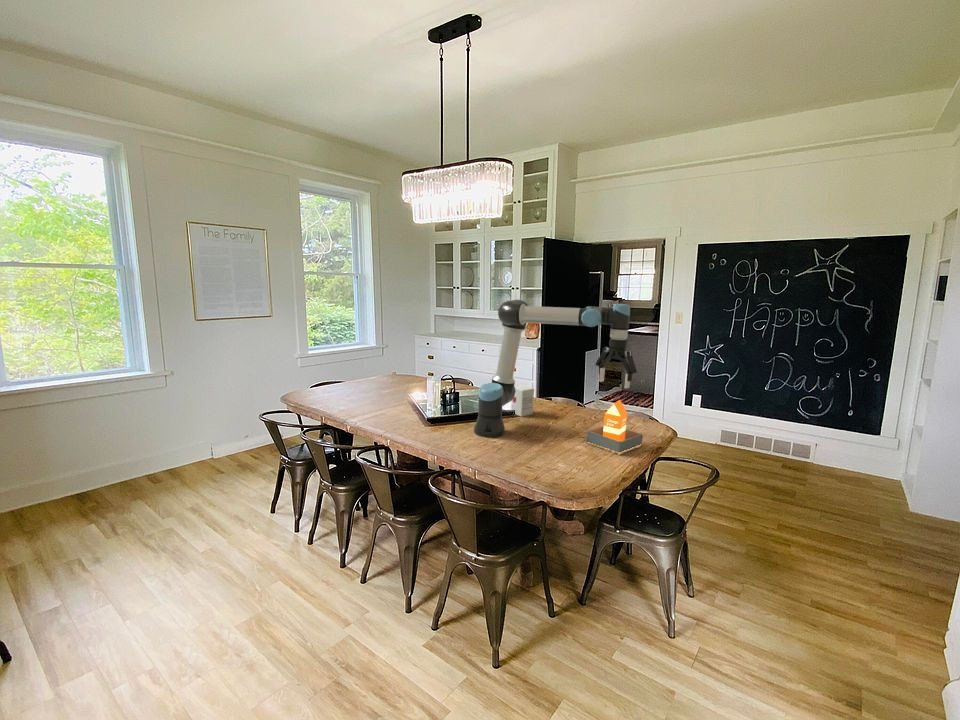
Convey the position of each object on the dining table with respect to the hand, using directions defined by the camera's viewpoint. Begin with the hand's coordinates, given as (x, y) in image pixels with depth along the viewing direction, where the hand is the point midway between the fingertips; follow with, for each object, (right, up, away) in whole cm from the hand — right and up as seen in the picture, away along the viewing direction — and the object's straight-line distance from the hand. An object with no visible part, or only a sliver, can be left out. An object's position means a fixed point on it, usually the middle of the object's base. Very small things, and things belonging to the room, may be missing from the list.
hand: (613, 384), depth 207 cm
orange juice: (+1, -27, +4) cm, 28 cm away
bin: (+1, -28, +4) cm, 29 cm away
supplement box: (-38, -19, +47) cm, 63 cm away
